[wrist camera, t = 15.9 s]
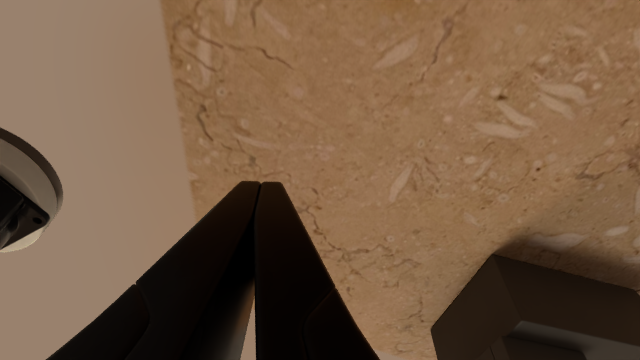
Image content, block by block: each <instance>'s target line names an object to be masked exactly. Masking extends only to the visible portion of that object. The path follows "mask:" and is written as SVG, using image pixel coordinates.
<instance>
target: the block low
mask: <svg viewBox="0 0 640 360" xmlns="http://www.w3.org/2000/svg"><path fill="white" fill-rule="evenodd" d="M431 335H432V339H433V343H434V347H435V351H436V355H437V359H438V360H640V296H639V294H638V293H637V292H636V291H635V290H631V289H627V288H623V287H619V286H615V285H611V284H607V283H603V282H599V281H595V280H591V279H587V278H583V277H579V276H576V275H572V274H568V273H564V272H560V271H556V270H552V269H548V268H544V267H540V266H536V265H532V264H528V263H524V262H520V261H516V260H512V259H508V258H504V257H500V256H496V255H491V257H490V258H489V259H488V260H487V261H486V263H485V264H484V265H483V266H482V268H481V269H480V270H479V271H478V272H477V274H476V275H475V276H474V277H473V279H472V280H471V281H470V282H469V283H468V285H467V286H466V287H465V288H464V290H463V291H462V292H461V293H460V294H459V296H458V297H457V298H456V299H455V300H454V302H453V303H452V304H451V305H450V307H449V308H448V309H447V310H446V311H445V313H444V314H443V315H442V316H441V318H440V319H439V320H438V321H437V322H436V324H435V325H434V326H433V327H432V329H431Z"/></svg>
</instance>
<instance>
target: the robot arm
mask: <svg viewBox="0 0 640 360" xmlns="http://www.w3.org/2000/svg"><path fill="white" fill-rule="evenodd" d="M49 220H50V216H49V214H48V213H47V212H46V211H44V210H43V209H42V208H41V207H39V206H38V205H37V204H36V203H34V202H33V201H32V200H31V199H29V198H28V197H27V196H25V195H24V194H23V193H22V192H20V191H19V190H18V189H17V188H15V187H14V186H13V185H12V184H10V183H9V182H8V181H7V180H5V179H4V178H3V177H2V176H0V250H2V249H3V248H5V247H7V246H9V245H11V244H13V243H15V242H16V241H18V240H20V239H22V238H24V237H26V236H27V235H29V234H31V233H33V232H35V231H37V230H39V229H40V228H42V227H44V226H45V225H46V224H47V223H48V222H49ZM254 295H255V333H256V360H380V359H379V357H378V356H377V355H376V353H375V352H374V350H373V349H372V347H371V346H370V344H369V343H368V341H367V340H366V338H365V337H364V335H363V334H362V332H361V331H360V329H359V328H358V326H357V325H356V323H355V321H354V319H353V317H352V316H351V314H350V312H349V310H348V309H347V307H346V305H345V303H344V301H343V300H342V298H341V296H340V294H339V292H338V290H337V289H336V288H335V285H334V283H333V281H332V279H331V277H330V275H329V273H328V271H327V269H326V267H325V265H324V263H323V261H322V259H321V258H320V256H319V254H318V252H317V250H316V248H315V246H314V244H313V242H312V240H311V238H310V236H309V234H308V232H307V231H306V229H305V227H304V225H303V223H302V221H301V219H300V217H299V215H298V213H297V211H296V209H295V207H294V205H293V203H292V202H291V200H290V198H289V196H288V194H287V192H286V190H285V188H284V186H283V184H282V183H281V182H263V183H262V184H261V183H260V182H259V181H241V182H240V183H239V184H237V185H236V186H235V187H234V188H233V189H232V190H231V191H230V192H229V193H228V194H227V195H226V196H225V197H224V198H223V199H222V200H221V201H220V202H219V203H218V204H217V205H216V206H214V207H213V208H212V209H211V210H210V211H209V212H208V213H207V214H206V215H205V216H204V217H203V218H202V219H201V220H200V221H199V222H198V223H197V224H196V225H195V226H194V227H193V228H191V230H189V232H187V233H186V234H185V235H184V236H183V237H182V238H181V239H180V240H179V241H178V242H177V243H176V244H175V245H174V246H173V247H172V248H171V249H170V250H168V251H167V252H166V253H165V254H164V255H163V256H162V257H161V258H160V259H159V260H158V261H157V262H156V263H155V264H154V265H153V266H152V267H151V268H150V269H149V270H147V271H146V272H145V273H144V274H143V276H141V277H140V278H139V279H138V280H137V281H136V285H135V284H133V285H132V286H131V287H130V288H128V289H127V290H126V291H125V292H124V293H123V294H122V295H121V296H120V297H119V298H118V299H117V300H116V301H115V302H114V303H112V304H111V305H110V306H109V307H108V308H107V309H106V310H105V311H104V312H103V313H102V314H101V315H100V316H98V317H97V318H96V319H95V320H94V321H93V322H91V323H90V324H89V325H88V326H86V327H85V328H84V329H83V330H82V331H81V332H79V333H78V334H77V335H76V336H75V337H73V338H72V339H71V340H70V341H68V342H67V343H66V344H65V345H64V346H63V347H61V348H60V349H59V350H57V351H56V352H55V353H54V354H52V355H51V356H50V357H49V358H47V359H46V360H240V358H241V353H242V349H243V344H244V340H245V335H246V331H247V326H248V322H249V318H250V313H251V309H252V304H253V300H254Z"/></svg>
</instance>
